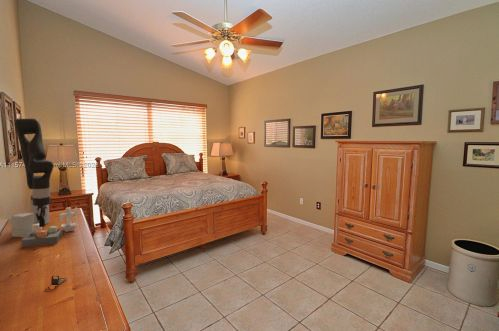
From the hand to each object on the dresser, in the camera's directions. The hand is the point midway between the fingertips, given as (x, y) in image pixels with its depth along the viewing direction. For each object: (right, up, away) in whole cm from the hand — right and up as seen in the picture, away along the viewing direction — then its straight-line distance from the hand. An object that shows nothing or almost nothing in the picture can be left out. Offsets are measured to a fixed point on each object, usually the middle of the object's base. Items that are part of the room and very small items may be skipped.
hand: (42, 226), depth 134 cm
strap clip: (+38, -14, -38) cm, 56 cm away
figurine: (-1, -8, +21) cm, 22 cm away
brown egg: (0, -9, 0) cm, 9 cm away
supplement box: (-20, -8, +10) cm, 24 cm away
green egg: (0, -8, +7) cm, 11 cm away
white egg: (-6, -6, +4) cm, 9 cm away
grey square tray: (-2, -9, +3) cm, 10 cm away
